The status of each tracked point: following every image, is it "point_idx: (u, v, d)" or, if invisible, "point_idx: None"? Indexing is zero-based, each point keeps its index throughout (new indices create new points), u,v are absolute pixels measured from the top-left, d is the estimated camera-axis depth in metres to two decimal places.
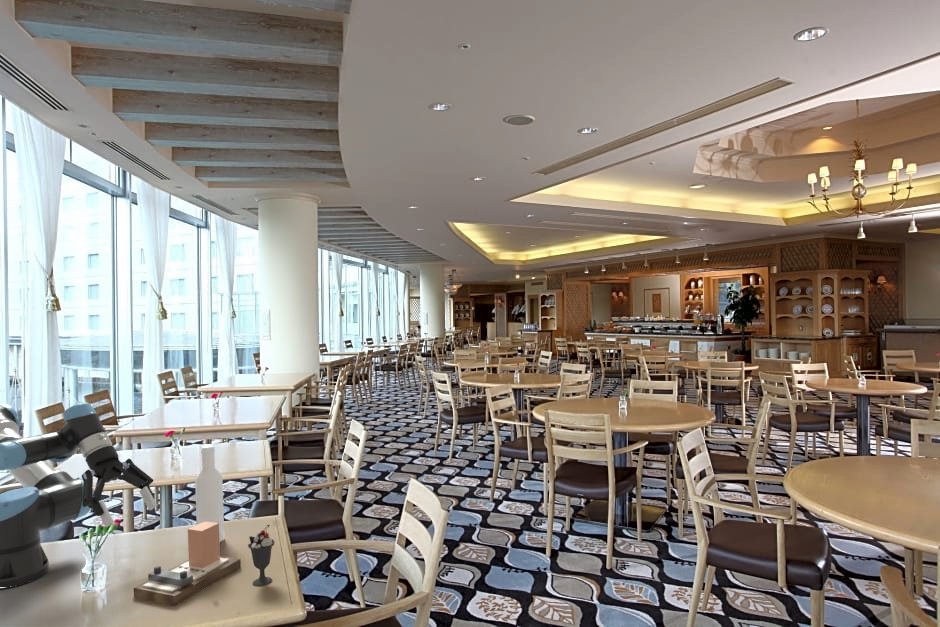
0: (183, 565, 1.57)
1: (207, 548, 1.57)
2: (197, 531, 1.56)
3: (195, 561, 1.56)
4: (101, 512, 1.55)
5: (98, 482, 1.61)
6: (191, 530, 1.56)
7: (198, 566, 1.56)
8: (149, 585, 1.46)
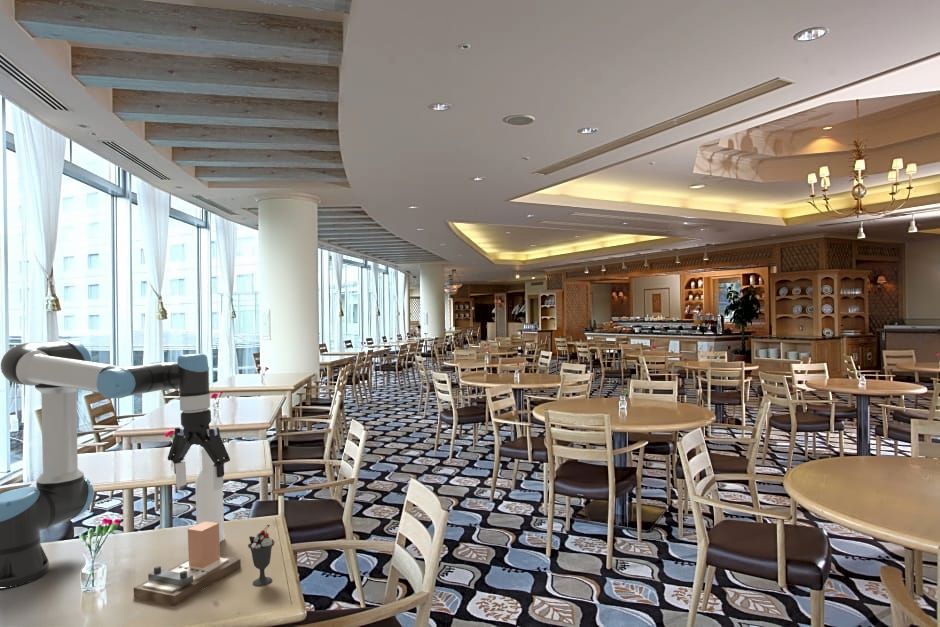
0: (183, 565, 1.57)
1: (207, 548, 1.57)
2: (197, 531, 1.56)
3: (195, 561, 1.56)
4: None
5: (207, 442, 1.57)
6: (191, 530, 1.56)
7: (198, 566, 1.56)
8: (149, 585, 1.46)
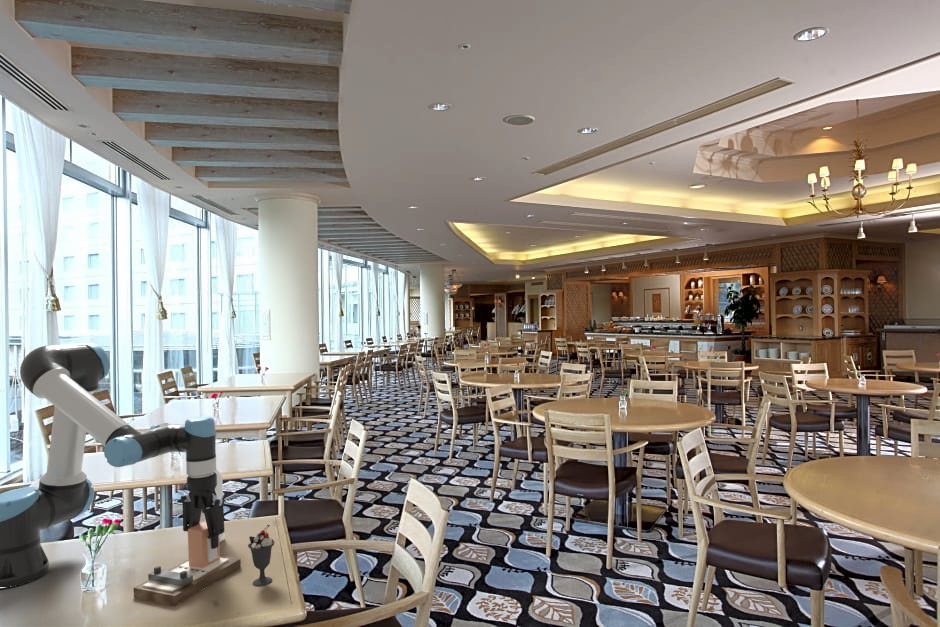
0: (183, 565, 1.57)
1: None
2: (197, 531, 1.56)
3: (195, 561, 1.56)
4: None
5: (209, 510, 1.57)
6: (191, 530, 1.56)
7: (198, 566, 1.56)
8: (149, 585, 1.46)
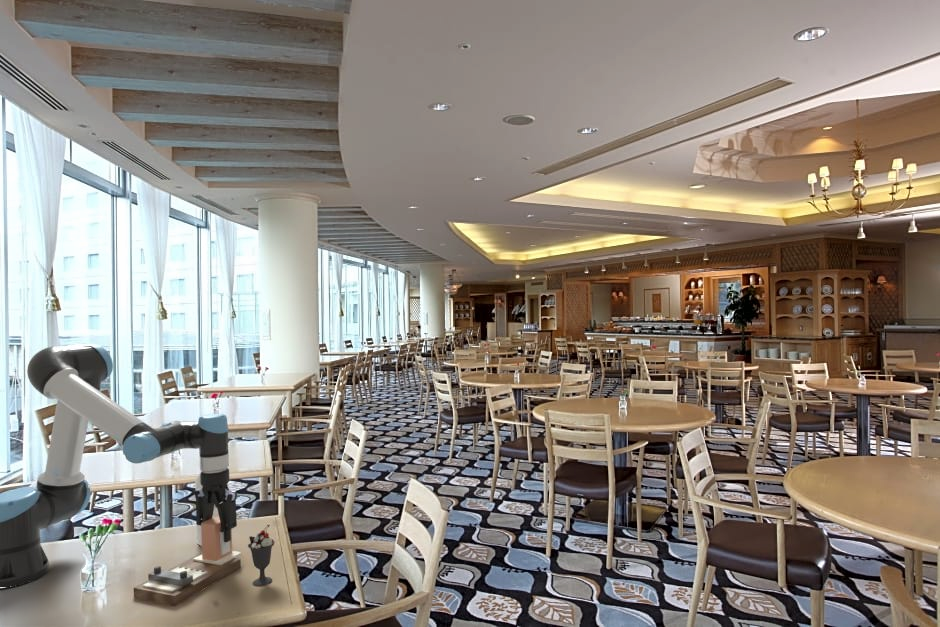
0: (196, 558, 1.61)
1: None
2: (210, 525, 1.60)
3: (208, 554, 1.60)
4: None
5: (222, 505, 1.62)
6: (204, 524, 1.61)
7: (211, 559, 1.60)
8: (149, 585, 1.46)
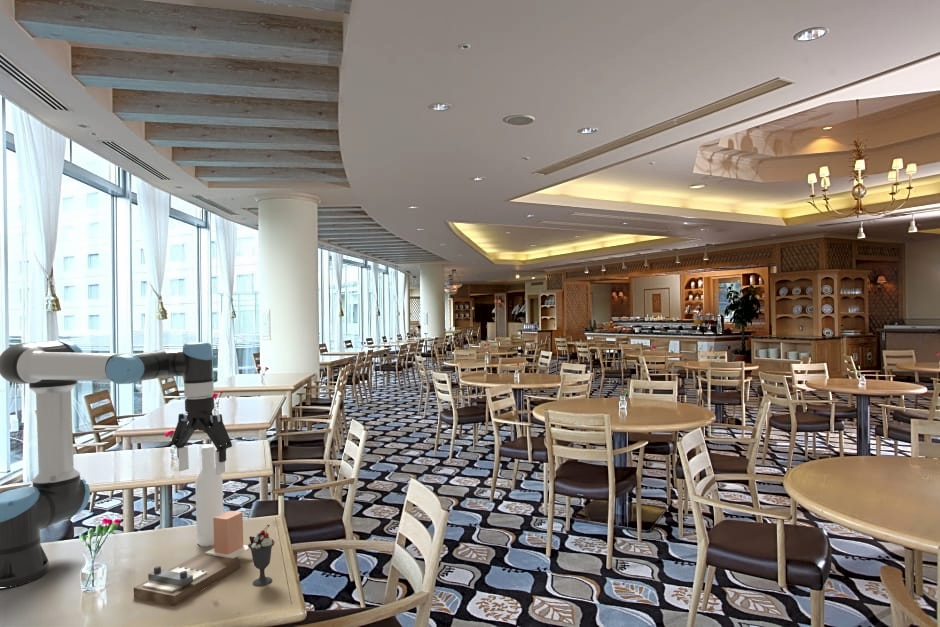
0: (209, 552, 1.66)
1: (232, 536, 1.65)
2: (222, 520, 1.64)
3: (220, 548, 1.64)
4: None
5: (210, 428, 1.62)
6: (216, 518, 1.65)
7: (223, 553, 1.64)
8: (149, 585, 1.46)
